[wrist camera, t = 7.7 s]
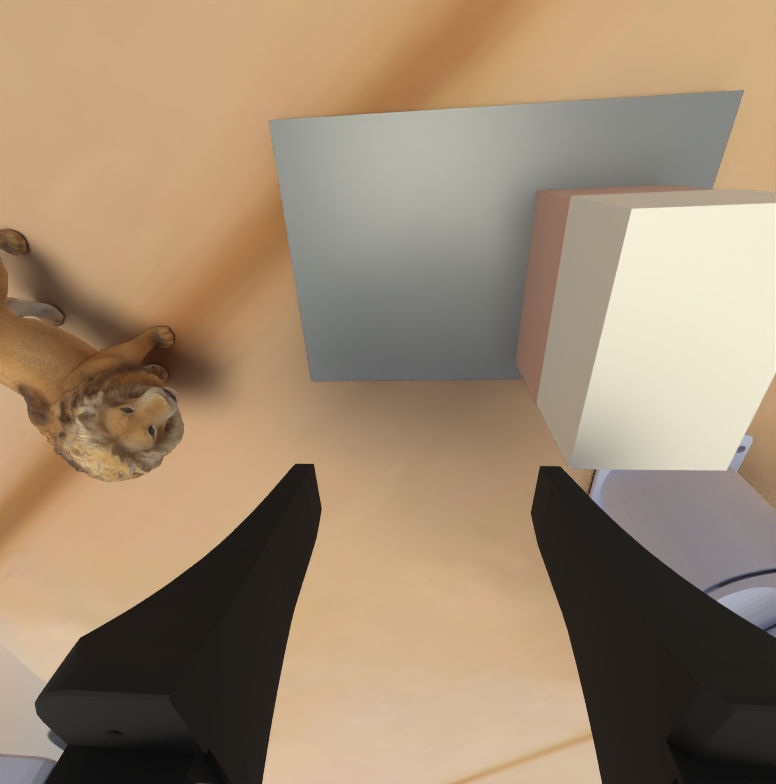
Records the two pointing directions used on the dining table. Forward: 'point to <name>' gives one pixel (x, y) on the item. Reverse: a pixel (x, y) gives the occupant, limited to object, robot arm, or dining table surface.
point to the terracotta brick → (552, 271)
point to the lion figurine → (87, 388)
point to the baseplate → (457, 218)
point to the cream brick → (661, 328)
